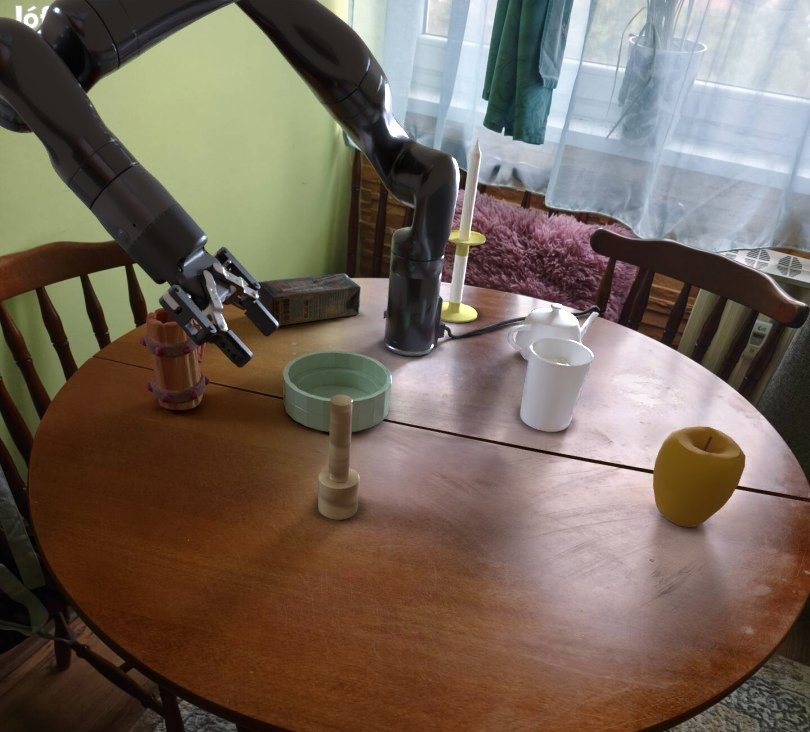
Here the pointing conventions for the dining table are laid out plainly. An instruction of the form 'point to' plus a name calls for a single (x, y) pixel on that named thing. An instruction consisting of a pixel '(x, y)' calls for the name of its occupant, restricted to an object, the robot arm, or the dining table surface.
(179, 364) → the mug
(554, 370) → the white cup
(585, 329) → the teapot
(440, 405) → the dining table surface
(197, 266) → the robot arm
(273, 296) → the beverage carton
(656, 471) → the apple
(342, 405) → the wooden masher
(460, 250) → the candle
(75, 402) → the dining table surface
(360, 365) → the bowl
